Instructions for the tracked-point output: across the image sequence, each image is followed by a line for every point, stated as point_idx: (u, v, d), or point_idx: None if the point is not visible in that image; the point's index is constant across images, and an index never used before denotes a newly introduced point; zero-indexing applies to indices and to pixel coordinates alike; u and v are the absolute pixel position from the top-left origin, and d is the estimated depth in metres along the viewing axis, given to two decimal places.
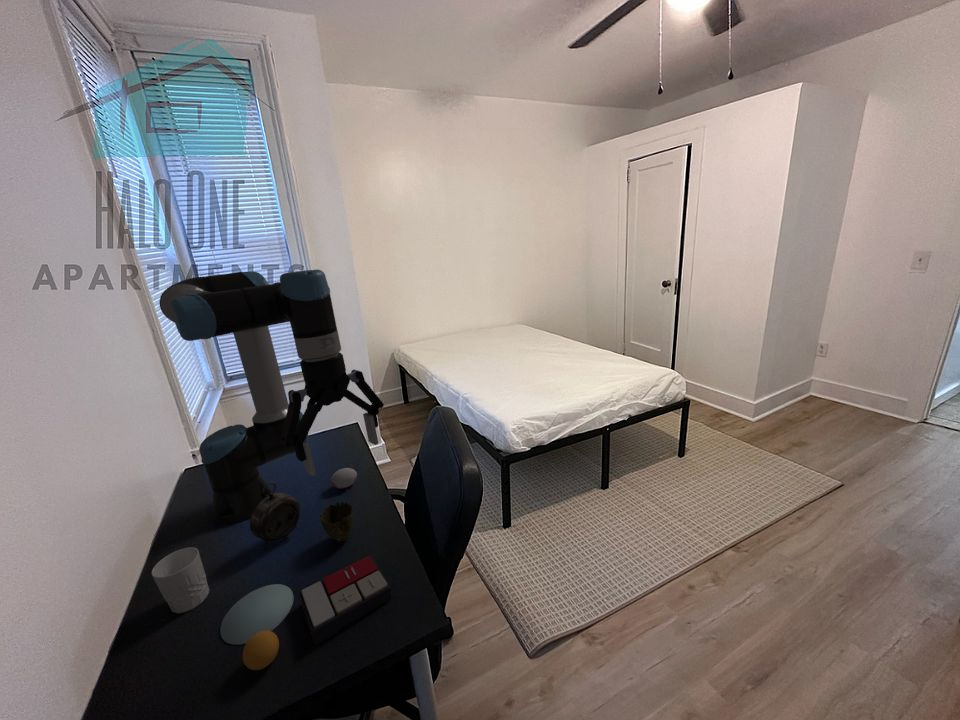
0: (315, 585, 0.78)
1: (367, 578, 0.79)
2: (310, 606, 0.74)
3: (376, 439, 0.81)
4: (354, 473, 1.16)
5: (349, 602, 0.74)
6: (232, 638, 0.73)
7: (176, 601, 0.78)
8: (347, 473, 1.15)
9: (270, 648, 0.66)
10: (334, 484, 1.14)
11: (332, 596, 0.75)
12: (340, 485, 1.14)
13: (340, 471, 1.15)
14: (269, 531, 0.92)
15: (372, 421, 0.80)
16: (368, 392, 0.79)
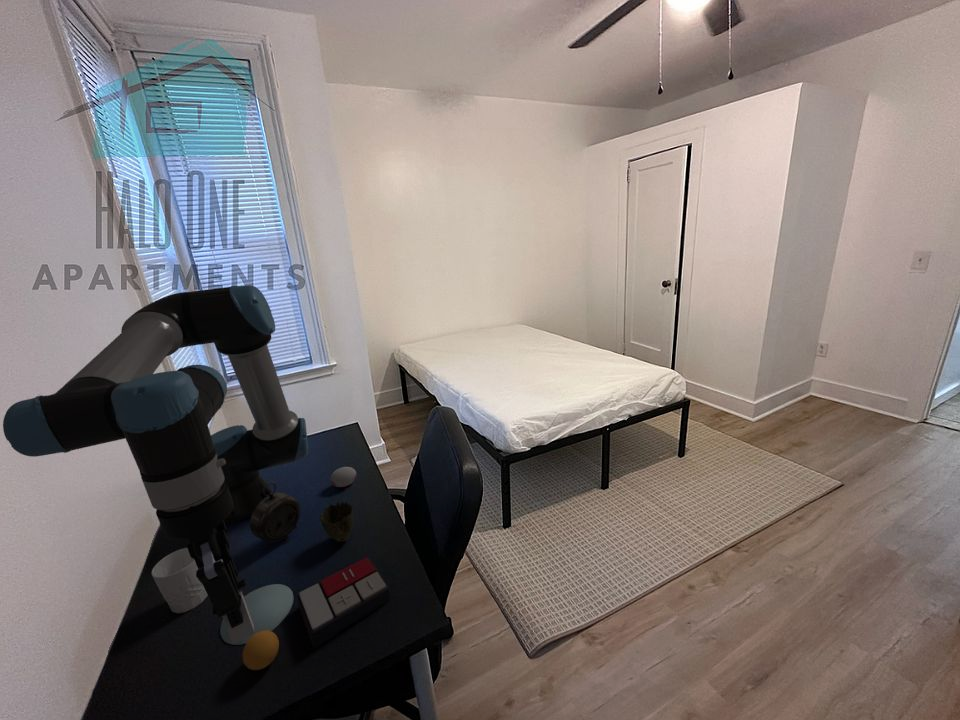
0: (313, 587, 0.78)
1: (365, 580, 0.79)
2: (308, 609, 0.73)
3: (251, 620, 0.56)
4: (353, 472, 1.17)
5: (348, 604, 0.73)
6: None
7: (176, 601, 0.78)
8: (347, 472, 1.15)
9: (270, 648, 0.66)
10: (333, 483, 1.14)
11: (330, 598, 0.75)
12: (339, 483, 1.14)
13: (339, 470, 1.16)
14: (269, 531, 0.92)
15: (243, 598, 0.55)
16: None
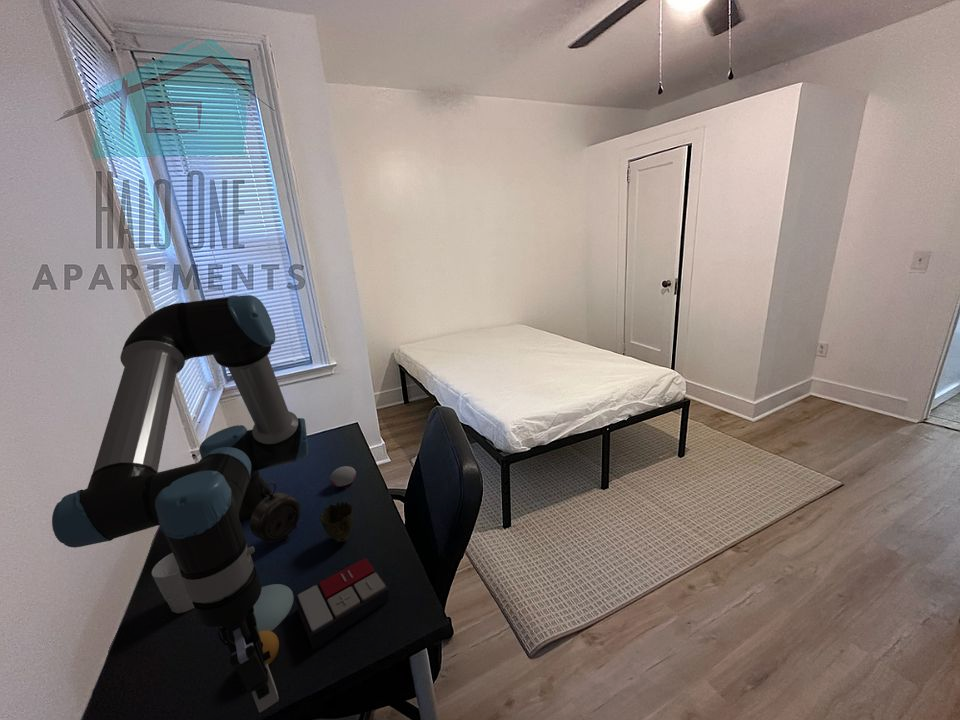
0: (311, 589, 0.78)
1: (364, 580, 0.79)
2: (307, 610, 0.73)
3: None
4: (353, 471, 1.17)
5: (347, 605, 0.73)
6: None
7: (176, 601, 0.78)
8: (346, 471, 1.16)
9: (270, 648, 0.66)
10: (333, 482, 1.15)
11: (329, 600, 0.75)
12: (339, 483, 1.15)
13: (339, 469, 1.16)
14: (269, 531, 0.92)
15: (269, 669, 0.59)
16: None
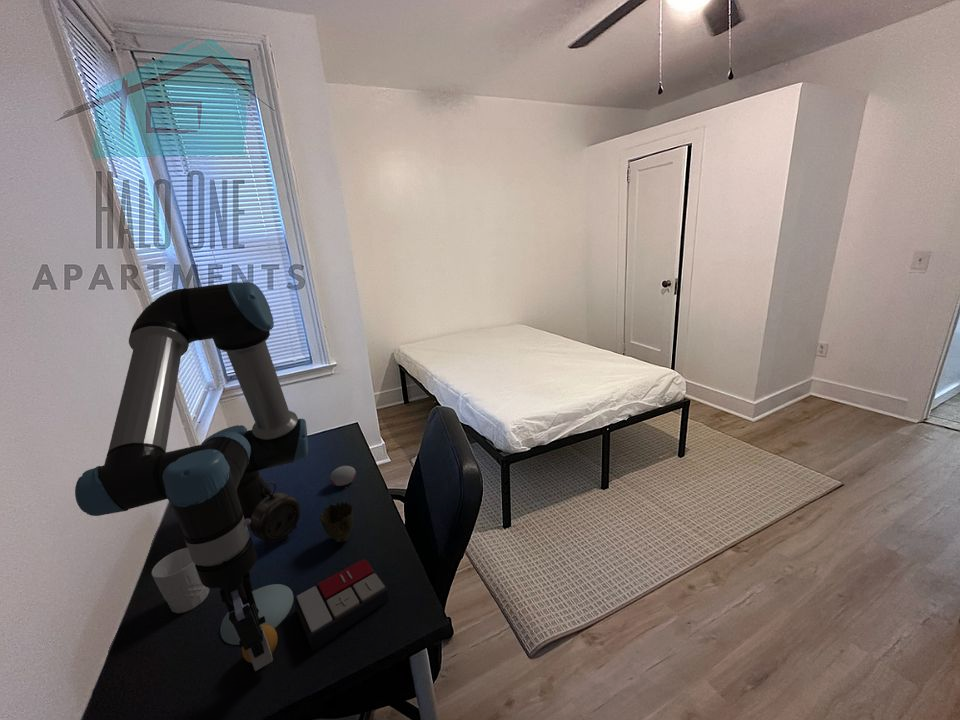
0: (310, 590, 0.77)
1: (363, 581, 0.79)
2: (306, 611, 0.73)
3: (270, 651, 0.67)
4: (353, 471, 1.17)
5: (346, 606, 0.73)
6: (232, 638, 0.73)
7: (176, 601, 0.78)
8: (346, 471, 1.16)
9: (268, 638, 0.67)
10: (333, 482, 1.15)
11: (329, 600, 0.74)
12: (339, 482, 1.15)
13: (339, 469, 1.16)
14: (269, 531, 0.92)
15: None
16: None
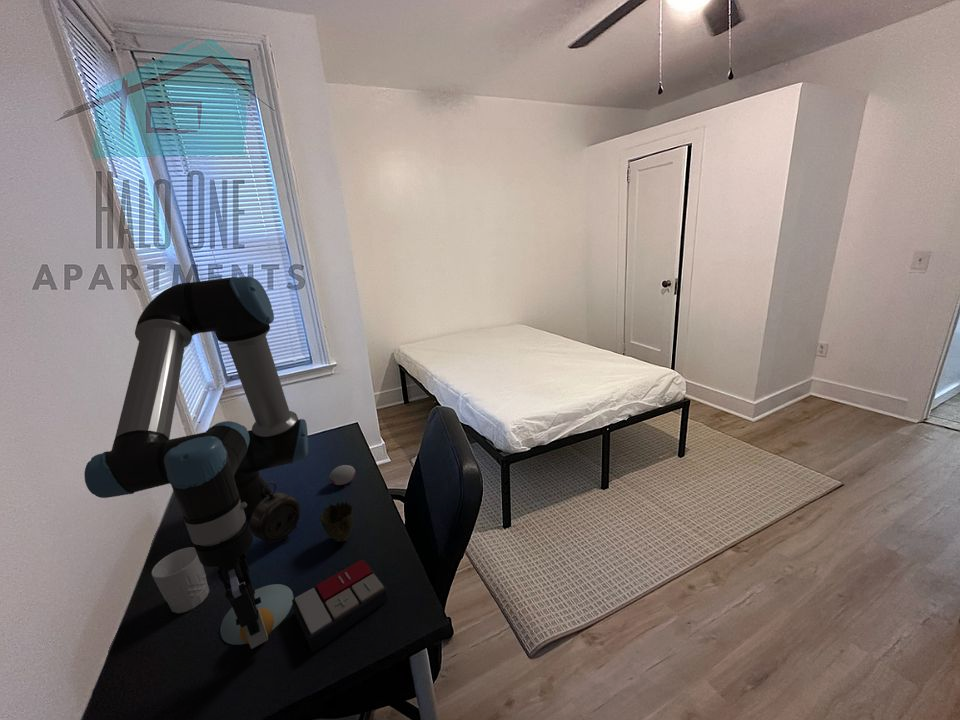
0: (309, 592, 0.77)
1: (362, 582, 0.78)
2: (305, 613, 0.72)
3: (265, 630, 0.70)
4: (352, 470, 1.18)
5: (346, 607, 0.73)
6: (232, 638, 0.73)
7: (176, 601, 0.78)
8: (346, 470, 1.16)
9: (263, 616, 0.71)
10: (333, 481, 1.15)
11: (327, 602, 0.74)
12: (338, 481, 1.15)
13: (339, 468, 1.17)
14: (269, 531, 0.92)
15: (259, 612, 0.69)
16: None
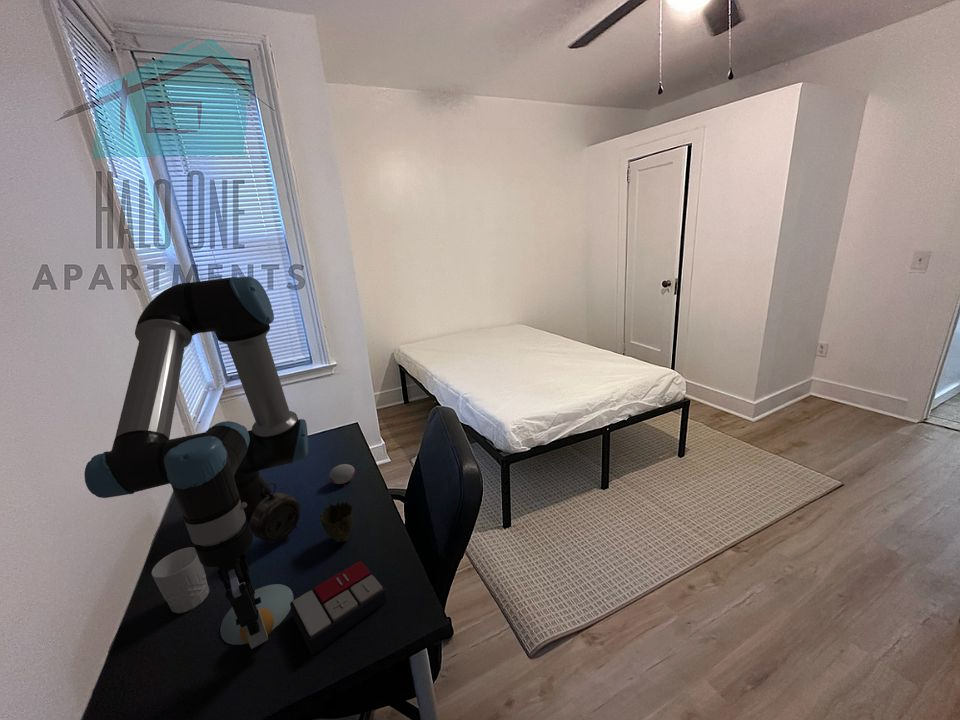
0: (307, 594, 0.76)
1: (361, 583, 0.78)
2: (304, 616, 0.72)
3: (265, 630, 0.70)
4: (352, 469, 1.18)
5: (345, 608, 0.73)
6: (232, 638, 0.73)
7: (176, 601, 0.78)
8: (345, 469, 1.17)
9: (263, 616, 0.71)
10: (332, 480, 1.16)
11: (326, 604, 0.74)
12: (338, 480, 1.16)
13: (338, 467, 1.17)
14: (269, 531, 0.92)
15: (259, 612, 0.69)
16: None
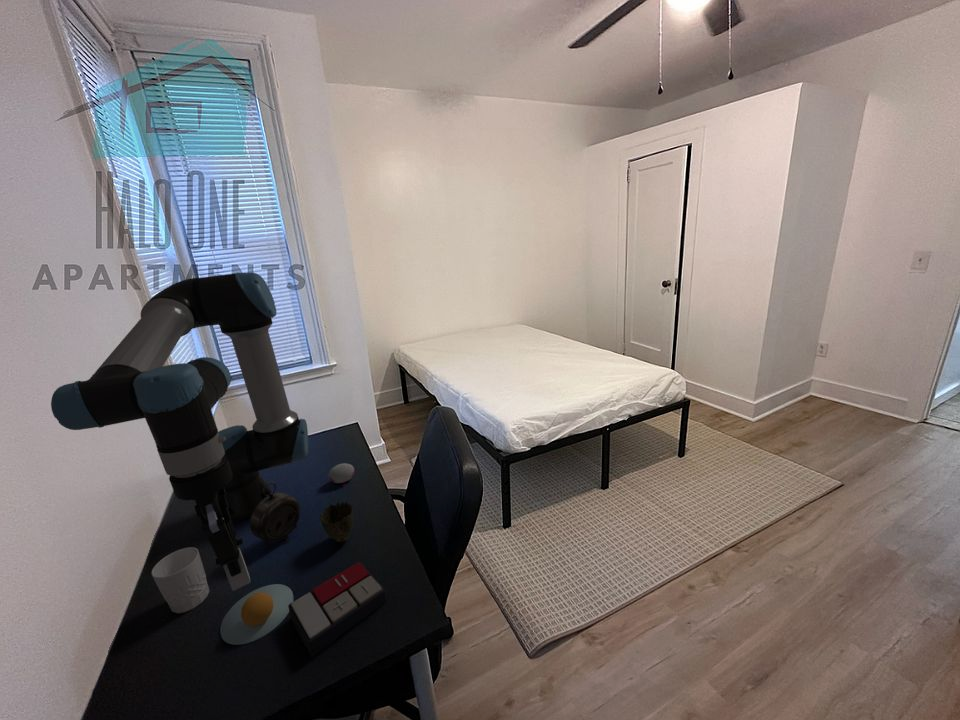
0: (305, 596, 0.76)
1: (360, 584, 0.78)
2: (303, 618, 0.71)
3: None
4: (351, 468, 1.19)
5: (344, 609, 0.72)
6: (232, 638, 0.73)
7: (176, 601, 0.78)
8: (345, 468, 1.17)
9: None
10: (332, 479, 1.16)
11: (325, 605, 0.74)
12: (337, 480, 1.16)
13: (338, 466, 1.18)
14: (269, 531, 0.92)
15: (241, 553, 0.66)
16: None
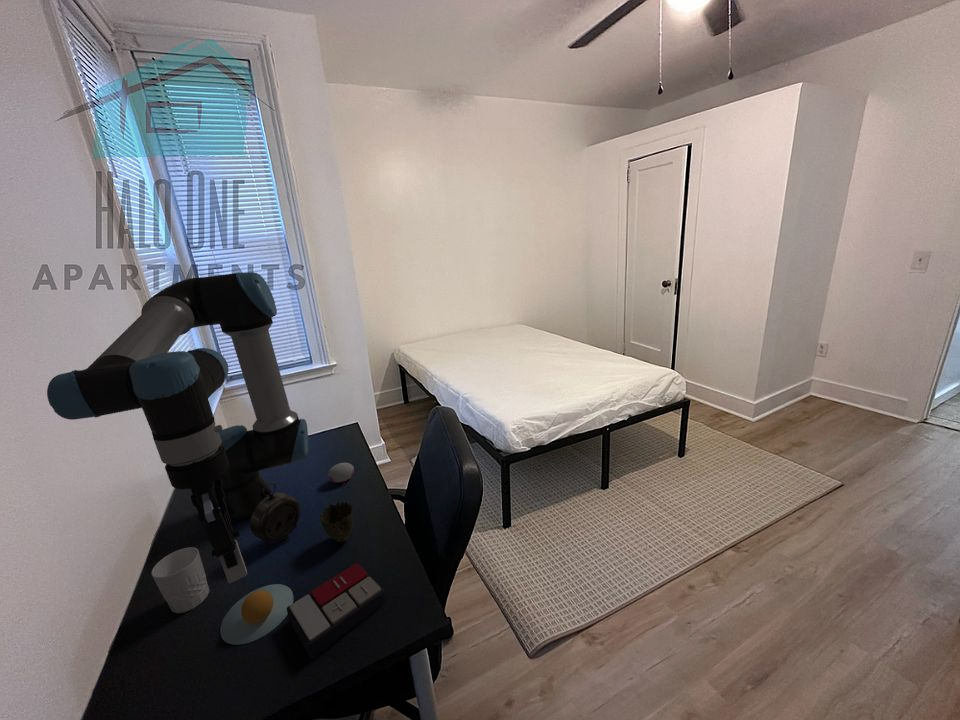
0: (303, 599, 0.76)
1: (359, 585, 0.78)
2: (302, 620, 0.71)
3: (244, 565, 0.66)
4: (351, 467, 1.19)
5: (344, 611, 0.72)
6: (232, 638, 0.73)
7: (176, 601, 0.78)
8: (344, 467, 1.18)
9: None
10: (331, 478, 1.17)
11: (324, 607, 0.73)
12: (337, 479, 1.17)
13: (337, 465, 1.18)
14: (269, 531, 0.92)
15: (238, 546, 0.65)
16: None
